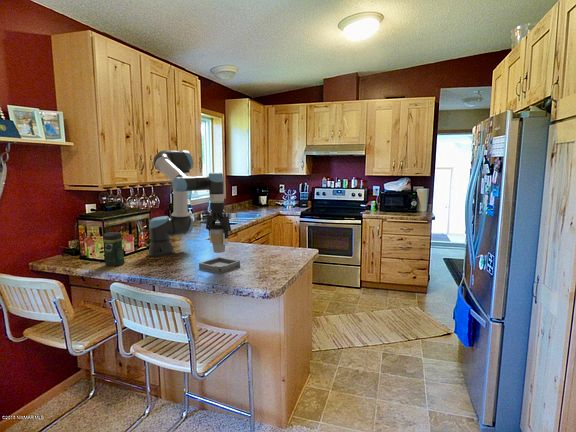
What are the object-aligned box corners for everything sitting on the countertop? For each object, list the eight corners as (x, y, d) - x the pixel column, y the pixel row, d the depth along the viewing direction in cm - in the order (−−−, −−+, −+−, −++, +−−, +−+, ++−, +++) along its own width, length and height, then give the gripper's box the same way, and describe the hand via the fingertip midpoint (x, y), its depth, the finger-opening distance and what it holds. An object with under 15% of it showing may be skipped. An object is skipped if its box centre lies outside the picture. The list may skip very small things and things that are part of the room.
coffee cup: (224, 254, 181) (222, 225, 179) (207, 253, 183) (206, 225, 180) (230, 249, 190) (229, 223, 188) (214, 249, 192) (213, 222, 190)
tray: (199, 268, 186) (198, 263, 186) (219, 261, 198) (219, 256, 198) (220, 273, 177) (219, 267, 177) (240, 266, 189) (239, 261, 189)
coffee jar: (127, 263, 198) (124, 231, 195) (116, 267, 191) (113, 234, 188) (113, 261, 201) (110, 230, 198) (102, 265, 193) (99, 233, 191)
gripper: (197, 201, 186) (199, 242, 189) (227, 203, 173) (228, 247, 176) (207, 200, 192) (209, 239, 195) (237, 202, 179) (238, 244, 182)
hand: (218, 243), depth 186 cm, fingers closed on coffee cup, 9 cm apart
